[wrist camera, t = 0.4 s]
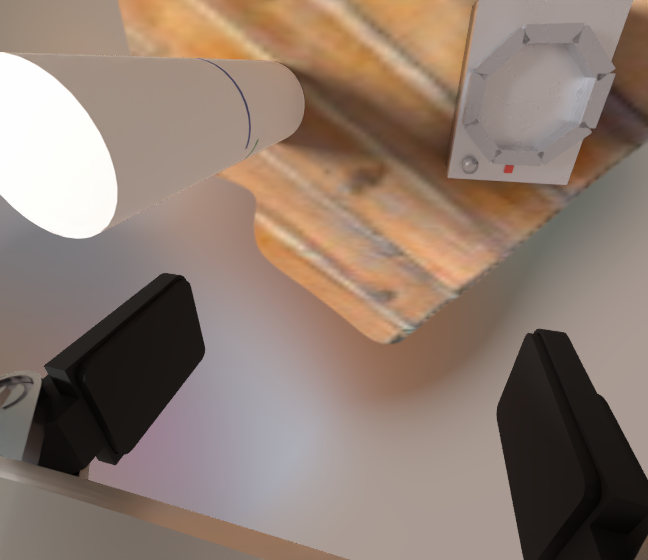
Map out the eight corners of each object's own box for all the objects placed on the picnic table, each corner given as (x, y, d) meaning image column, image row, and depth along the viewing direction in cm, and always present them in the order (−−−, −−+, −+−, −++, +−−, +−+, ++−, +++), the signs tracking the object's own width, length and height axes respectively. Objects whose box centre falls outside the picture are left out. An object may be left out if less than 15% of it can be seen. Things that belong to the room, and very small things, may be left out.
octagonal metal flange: (472, 6, 27) (483, -10, 22) (603, 1, 25) (654, -18, 20) (445, 164, 34) (448, 184, 28) (549, 169, 32) (575, 192, 26)
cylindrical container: (313, 74, 33) (111, 91, 12) (295, 150, 37) (121, 261, 16) (242, 49, 33) (-70, 22, 12) (232, 127, 37) (-16, 205, 16)
